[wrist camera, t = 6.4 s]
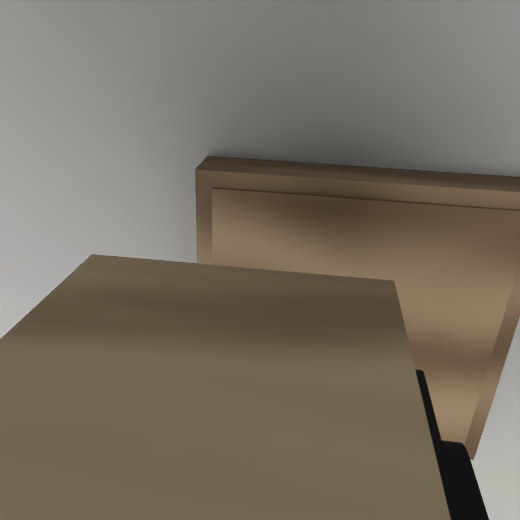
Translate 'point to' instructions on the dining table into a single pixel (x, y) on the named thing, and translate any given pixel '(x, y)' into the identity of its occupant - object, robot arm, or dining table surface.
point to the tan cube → (213, 399)
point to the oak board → (387, 257)
